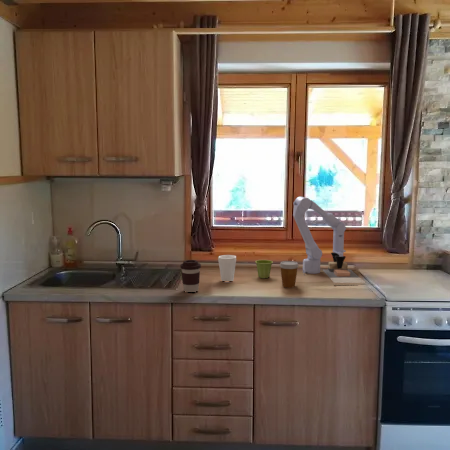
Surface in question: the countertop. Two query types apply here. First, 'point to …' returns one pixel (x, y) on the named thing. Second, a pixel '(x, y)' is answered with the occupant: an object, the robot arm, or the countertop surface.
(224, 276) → the foam cup
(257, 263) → the plant pot
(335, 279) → the board
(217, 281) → the countertop surface
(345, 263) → the block
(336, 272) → the tile
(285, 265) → the disposable coffee cup
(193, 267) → the coffee cup
